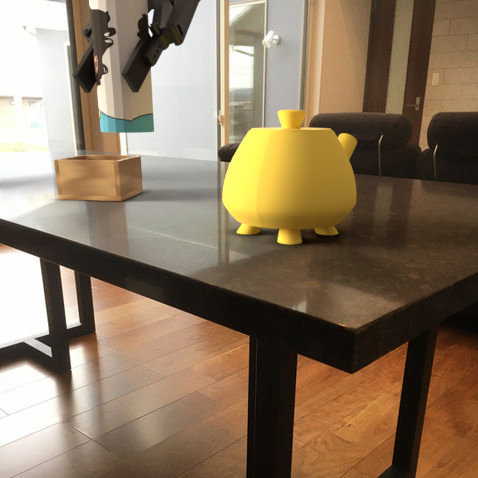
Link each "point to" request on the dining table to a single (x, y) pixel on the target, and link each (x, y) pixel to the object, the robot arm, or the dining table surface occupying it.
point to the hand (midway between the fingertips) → (104, 83)
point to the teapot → (291, 179)
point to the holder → (98, 177)
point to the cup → (120, 65)
